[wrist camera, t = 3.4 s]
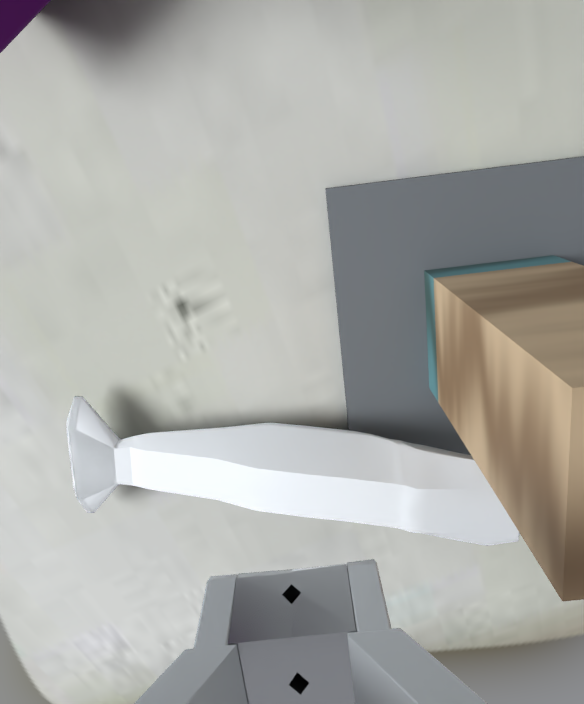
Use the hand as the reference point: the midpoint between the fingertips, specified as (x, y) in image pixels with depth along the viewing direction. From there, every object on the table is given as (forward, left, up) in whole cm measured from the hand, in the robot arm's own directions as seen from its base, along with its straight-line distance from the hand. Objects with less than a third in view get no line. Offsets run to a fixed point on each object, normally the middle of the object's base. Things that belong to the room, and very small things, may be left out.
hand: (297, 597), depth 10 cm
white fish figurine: (+4, -1, -14) cm, 15 cm away
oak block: (0, +8, -14) cm, 16 cm away
